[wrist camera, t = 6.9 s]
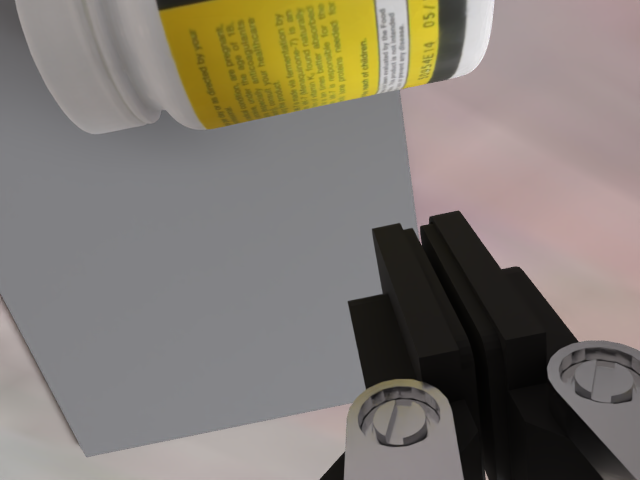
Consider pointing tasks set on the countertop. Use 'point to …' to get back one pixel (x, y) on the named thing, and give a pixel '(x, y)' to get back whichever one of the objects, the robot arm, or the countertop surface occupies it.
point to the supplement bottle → (242, 54)
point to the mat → (191, 256)
